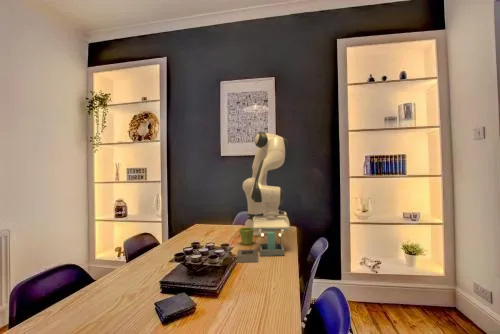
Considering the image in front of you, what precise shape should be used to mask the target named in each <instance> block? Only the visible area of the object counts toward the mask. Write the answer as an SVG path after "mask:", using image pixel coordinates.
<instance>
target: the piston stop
mask: <svg viewBox="0 0 500 334" xmlns="http://www.w3.org/2000/svg"><path fill="white" fill-rule="evenodd" d="M266 239H267V240H266V241H267V242H266V244H267V248H268V250H275V243H276V231H267V234H266Z"/></svg>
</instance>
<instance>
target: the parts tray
mask: <svg viewBox="0 0 500 334" xmlns="http://www.w3.org/2000/svg"><path fill="white" fill-rule="evenodd" d="M259 252H260V253H259V254H260V255H259V256H260V257H285V249H284V246H283V243H279V242H275V250H268V248H267V243H259Z"/></svg>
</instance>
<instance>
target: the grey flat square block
mask: <svg viewBox="0 0 500 334" xmlns="http://www.w3.org/2000/svg"><path fill="white" fill-rule="evenodd" d="M236 253H237V254H236V264H240V263H241V264H242V263H259V256H258V255H259V253H258V249H254V248H253V249H237V252H236Z"/></svg>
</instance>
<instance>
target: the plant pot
mask: <svg viewBox="0 0 500 334" xmlns="http://www.w3.org/2000/svg"><path fill="white" fill-rule="evenodd" d="M238 232H239V234H240V240H241V244H242V245H244V246H247V245H249V246H250V245H252V244H253V237H254V236H253V232H254V230H253V228H245V227H242V228H241V227H240V228H239V229H238Z"/></svg>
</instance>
